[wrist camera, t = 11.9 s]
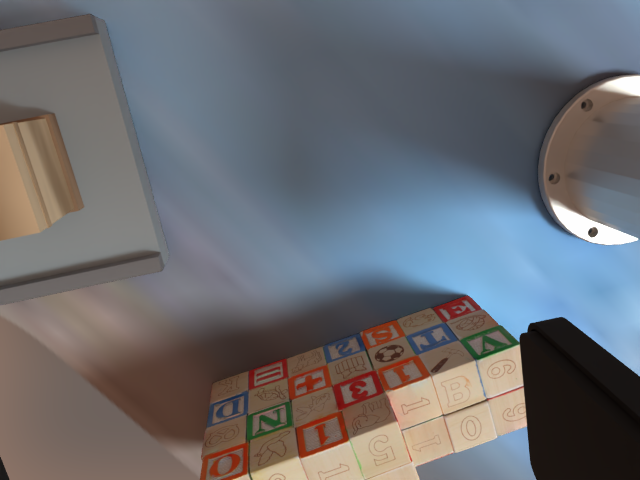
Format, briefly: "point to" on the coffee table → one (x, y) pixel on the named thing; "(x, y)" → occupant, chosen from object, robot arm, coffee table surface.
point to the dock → (79, 162)
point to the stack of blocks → (370, 401)
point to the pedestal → (34, 177)
